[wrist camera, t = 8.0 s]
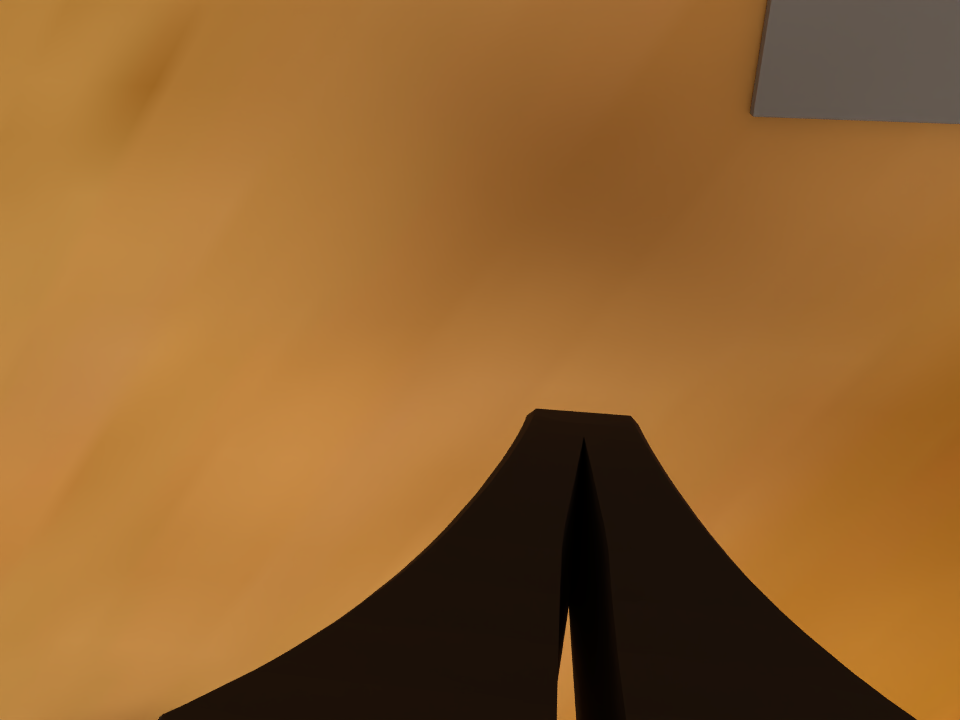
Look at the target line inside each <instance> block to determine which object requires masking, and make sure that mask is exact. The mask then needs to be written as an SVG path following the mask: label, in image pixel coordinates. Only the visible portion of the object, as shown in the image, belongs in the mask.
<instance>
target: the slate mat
mask: <svg viewBox="0 0 960 720" xmlns="http://www.w3.org/2000/svg"><path fill="white" fill-rule="evenodd" d="M750 114H751V115H752V116H753V117H780V118H808V119H835V120H863V121H891V122H918V123H946V124H960V0H768V1H767V8H766V14H765V20H764V27H763V33H762V39H761V46H760V52H759V59H758V65H757V71H756V78H755V84H754V90H753V97H752V103H751V110H750Z"/></svg>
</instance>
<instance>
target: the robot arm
mask: <svg viewBox="0 0 960 720" xmlns="http://www.w3.org/2000/svg"><path fill="white" fill-rule="evenodd" d="M568 608H569V616H570V632H571V648H572V663H573V678H574V692H575V707H576V720H917V719H915V718H914V717H912V716H911V715H909V714H908V713H907V712H905V711H904V710H902V709H901V708H899V707H898V706H897V705H895V704H894V703H892V702H891V701H890V700H888V699H887V698H885V697H884V696H883V695H881V694H880V693H879V692H878V691H876V690H875V689H874V688H872V687H871V686H870V685H868V684H867V683H866V682H864V681H863V680H862V679H860V678H859V677H858V676H856V675H855V674H854V673H853V672H851V671H850V670H849V669H848V668H846V667H845V666H844V665H843V664H842V663H840V662H839V661H838V660H837V659H836V658H834V657H833V656H832V655H831V654H830V653H828V652H827V651H826V650H825V649H824V648H822V647H821V646H820V645H819V644H818V643H816V642H815V641H814V640H813V639H812V638H810V637H809V636H808V635H807V634H806V633H805V632H803V631H802V630H801V629H800V628H799V627H798V626H797V625H796V624H795V623H793V622H792V621H791V620H790V619H789V618H788V617H787V616H786V615H785V614H784V613H782V612H781V611H780V610H779V609H778V608H777V607H776V606H775V605H774V604H773V603H772V602H771V601H770V600H769V599H768V598H767V597H766V596H765V595H764V594H763V593H762V592H761V591H760V590H759V589H758V588H757V587H756V586H755V585H754V584H753V583H752V582H751V581H750V580H749V579H748V578H747V577H746V576H745V574H744V573H743V572H742V571H741V570H740V569H739V568H738V567H737V565H736V564H735V563H734V562H733V561H732V560H731V559H730V557H729V556H728V555H727V554H726V553H725V551H724V550H723V549H722V548H721V547H720V545H719V544H718V543H717V542H716V541H715V539H714V538H713V537H712V536H711V535H710V533H709V532H708V531H707V529H706V528H705V527H704V525H703V524H702V523H701V522H700V520H699V519H698V518H697V516H696V515H695V514H694V512H693V511H692V509H691V508H690V507H689V505H688V504H687V502H686V501H685V500H684V498H683V497H682V495H681V494H680V493H679V491H678V490H677V488H676V487H675V486H674V484H673V483H672V481H671V480H670V478H669V477H668V475H667V474H666V472H665V470H664V469H663V467H662V466H661V464H660V462H659V461H658V459H657V458H656V456H655V454H654V453H653V451H652V449H651V448H650V446H649V444H648V442H647V440H646V439H645V437H644V435H643V433H642V431H641V429H640V427H639V425H638V424H637V423H636V421H635V420H634V419H633V418H632V417H631V416H626V415H613V414H600V413H587V412H574V411H560V410H547V409H535V410H534V411H532V412H531V413H530V414H528V415H527V417H526V419H525V422H524V424H523V426H522V428H521V430H520V432H519V434H518V435H517V437H516V439H515V440H514V442H513V444H512V445H511V447H510V448H509V450H508V451H507V453H506V454H505V456H504V457H503V459H502V460H501V462H500V463H499V464H498V466H497V467H496V468H495V470H494V471H493V472H492V474H491V475H490V476H489V478H488V479H487V480H486V482H485V483H484V484H483V486H482V487H481V488H480V490H479V491H478V492H477V493H476V495H475V496H474V497H473V498H472V499H471V500H470V502H469V503H468V504H467V505H466V506H465V507H464V508H463V509H462V511H461V512H460V513H459V514H458V515H457V516H456V517H455V518H454V520H453V521H452V522H451V523H450V524H449V525H448V526H447V527H446V528H445V530H444V531H443V532H442V533H441V534H440V535H439V536H438V537H437V538H436V539H435V540H434V541H433V542H432V543H431V544H430V545H429V546H428V547H427V548H426V549H424V550H423V551H422V552H421V553H420V554H419V555H418V556H417V557H416V558H415V559H414V560H413V561H411V562H410V563H409V564H408V565H407V566H406V567H405V568H404V569H403V570H401V571H400V572H399V573H398V574H397V575H396V576H394V577H393V578H392V579H391V580H389V581H388V582H387V583H386V584H384V585H383V586H382V587H381V588H379V589H378V590H377V591H375V592H374V593H373V594H372V595H370V596H369V597H368V598H367V599H365V600H364V601H363V602H362V603H360V604H359V605H358V606H356V607H355V608H354V609H352V610H351V611H349V612H348V613H347V614H345V615H344V616H342V617H341V618H340V619H338V620H337V621H335V622H334V623H332V624H331V625H329V626H328V627H326V628H324V629H323V630H321V631H320V632H318V633H317V634H315V635H313V636H312V637H310V638H309V639H307V640H305V641H304V642H302V643H301V644H299V645H298V646H296V647H294V648H293V649H291V650H289V651H288V652H286V653H284V654H282V655H281V656H279V657H277V658H276V659H274V660H272V661H270V662H268V663H267V664H265V665H263V666H261V667H259V668H257V669H256V670H254V671H252V672H250V673H248V674H246V675H244V676H242V677H240V678H238V679H236V680H234V681H232V682H230V683H227V684H225V685H223V686H221V687H219V688H217V689H215V690H213V691H211V692H209V693H207V694H205V695H203V696H201V697H199V698H197V699H195V700H193V701H191V702H189V703H187V704H185V705H183V706H181V707H178V708H176V709H174V710H172V711H169V712H167V713H165V714H163V715H162V716H160V717H159V719H158V720H557V681H558V675H559V668H560V661H561V655H562V648H563V641H564V635H565V628H566V621H567V615H568Z"/></svg>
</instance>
